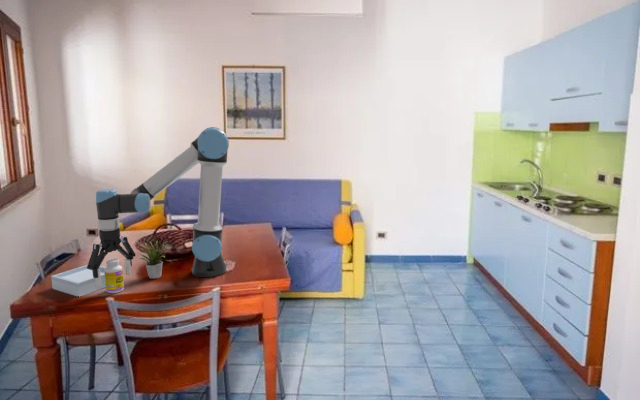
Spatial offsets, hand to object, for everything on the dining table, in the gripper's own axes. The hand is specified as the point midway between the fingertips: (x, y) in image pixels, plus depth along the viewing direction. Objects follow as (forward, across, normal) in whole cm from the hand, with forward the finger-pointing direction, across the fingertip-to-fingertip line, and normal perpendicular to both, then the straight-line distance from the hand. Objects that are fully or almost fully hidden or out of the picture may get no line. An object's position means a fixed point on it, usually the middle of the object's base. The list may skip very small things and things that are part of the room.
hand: (114, 279), depth 183 cm
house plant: (+5, -20, +2) cm, 21 cm away
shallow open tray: (+5, +2, -16) cm, 17 cm away
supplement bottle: (+5, 0, 0) cm, 5 cm away
